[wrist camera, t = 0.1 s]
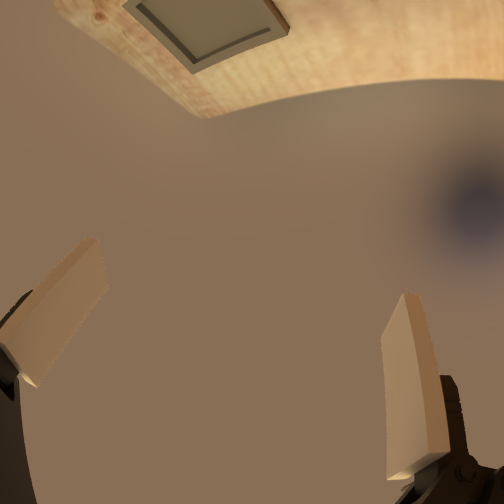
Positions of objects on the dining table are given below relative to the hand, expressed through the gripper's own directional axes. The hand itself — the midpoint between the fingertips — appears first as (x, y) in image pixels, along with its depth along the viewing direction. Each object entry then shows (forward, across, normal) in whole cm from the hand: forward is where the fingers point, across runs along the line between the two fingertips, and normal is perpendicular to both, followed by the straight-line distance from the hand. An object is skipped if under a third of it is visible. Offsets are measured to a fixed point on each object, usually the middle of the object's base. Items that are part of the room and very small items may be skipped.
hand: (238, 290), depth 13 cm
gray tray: (+32, -13, +17) cm, 38 cm away
